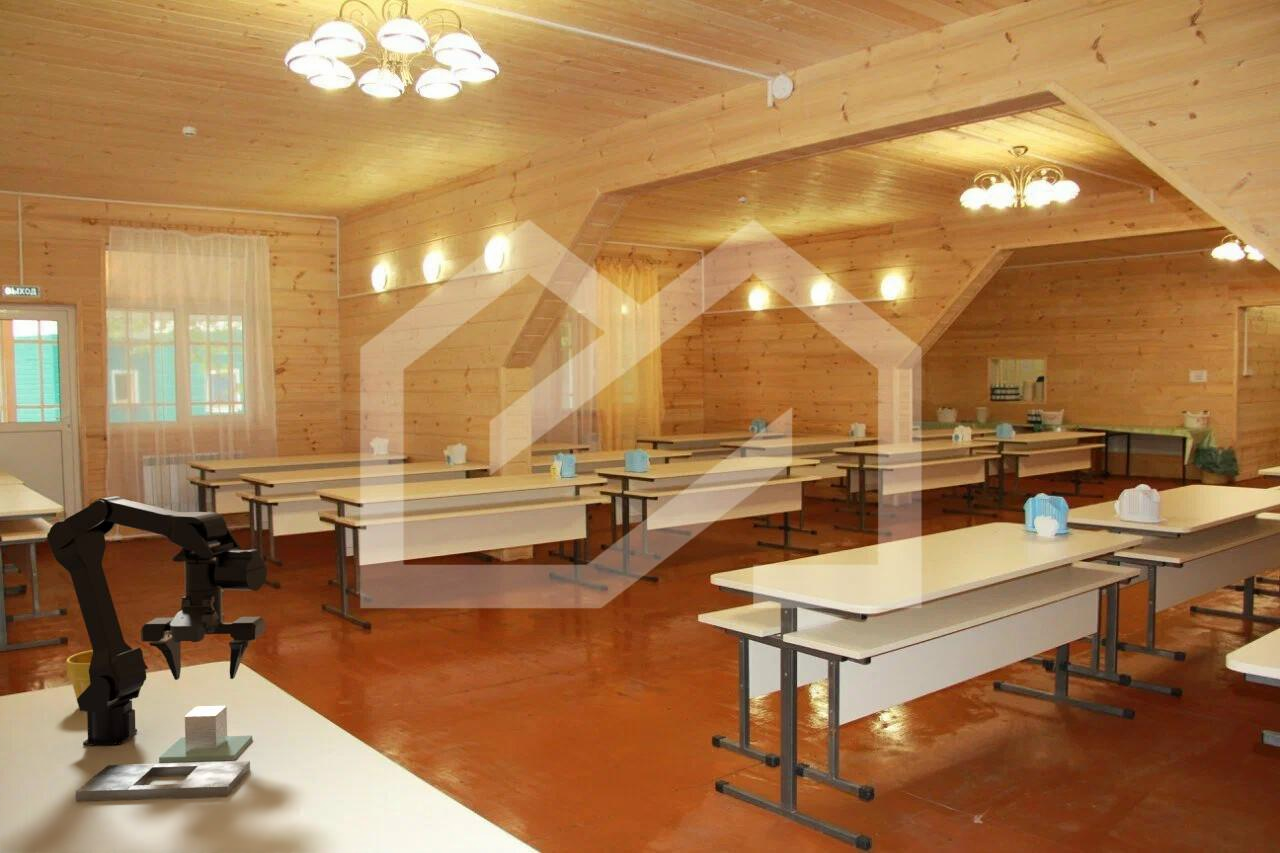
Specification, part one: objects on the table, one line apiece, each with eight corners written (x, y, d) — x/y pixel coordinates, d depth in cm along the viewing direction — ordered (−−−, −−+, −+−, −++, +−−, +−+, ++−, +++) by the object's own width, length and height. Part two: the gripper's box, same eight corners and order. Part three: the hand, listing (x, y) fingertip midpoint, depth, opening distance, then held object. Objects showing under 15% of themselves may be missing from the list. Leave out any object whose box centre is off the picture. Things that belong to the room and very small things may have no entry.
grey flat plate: (75, 801, 143) (75, 791, 143) (108, 774, 153) (107, 765, 153) (227, 796, 145) (227, 786, 145) (250, 769, 155) (249, 760, 154)
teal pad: (159, 762, 158) (159, 757, 158) (181, 742, 167) (181, 737, 167) (234, 759, 159) (234, 755, 159) (252, 740, 168) (252, 735, 168)
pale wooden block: (185, 752, 160) (184, 716, 160) (197, 741, 165) (196, 706, 165) (216, 751, 160) (215, 715, 160) (227, 740, 165) (226, 705, 165)
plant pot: (110, 714, 181) (108, 663, 181) (55, 714, 182) (54, 663, 181) (139, 696, 192) (138, 648, 191) (87, 696, 192) (86, 648, 191)
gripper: (124, 598, 155) (126, 694, 155) (242, 597, 156) (244, 693, 156) (155, 584, 166) (156, 674, 166) (265, 583, 167) (266, 672, 168)
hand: (204, 678), depth 164 cm, fingers open, 9 cm apart
